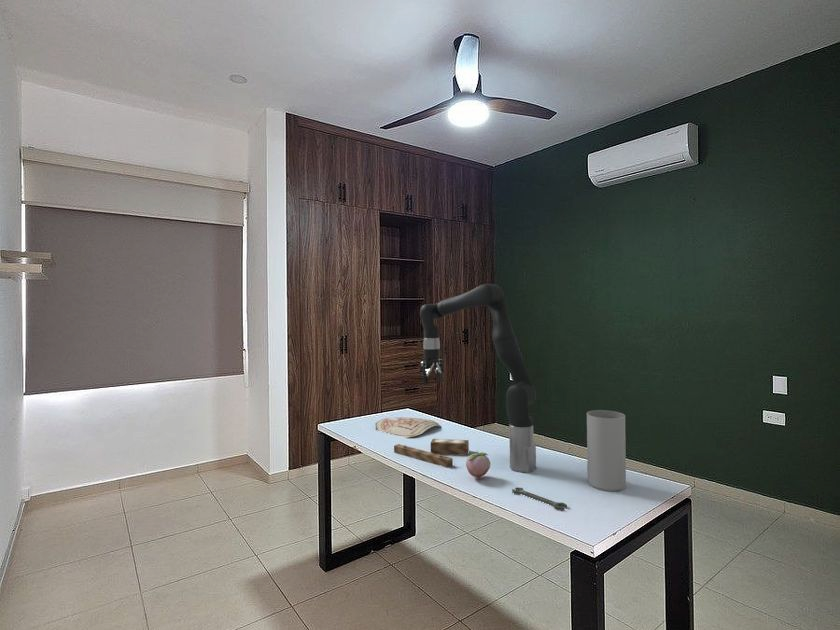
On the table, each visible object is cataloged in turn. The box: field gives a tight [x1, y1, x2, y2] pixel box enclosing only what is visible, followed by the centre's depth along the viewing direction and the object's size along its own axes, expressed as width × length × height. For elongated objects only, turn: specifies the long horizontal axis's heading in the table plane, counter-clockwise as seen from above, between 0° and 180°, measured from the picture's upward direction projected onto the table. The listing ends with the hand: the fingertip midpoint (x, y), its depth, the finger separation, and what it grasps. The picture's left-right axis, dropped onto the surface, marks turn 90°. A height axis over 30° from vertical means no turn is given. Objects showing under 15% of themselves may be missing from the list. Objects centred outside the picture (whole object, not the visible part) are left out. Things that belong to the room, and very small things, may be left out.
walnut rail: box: [393, 443, 454, 469], centre depth 189 cm, size 30×3×4 cm, turn 49°
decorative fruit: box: [465, 451, 491, 479], centre depth 167 cm, size 9×8×10 cm
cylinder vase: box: [586, 409, 627, 492], centre depth 158 cm, size 12×12×25 cm
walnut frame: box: [430, 438, 470, 456], centre depth 197 cm, size 16×6×5 cm, turn 79°
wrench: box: [511, 487, 568, 511], centre depth 148 cm, size 5×20×1 cm, turn 41°
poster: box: [375, 416, 441, 439], centre depth 237 cm, size 28×6×30 cm
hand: (432, 383), depth 205 cm, fingers open, 8 cm apart
